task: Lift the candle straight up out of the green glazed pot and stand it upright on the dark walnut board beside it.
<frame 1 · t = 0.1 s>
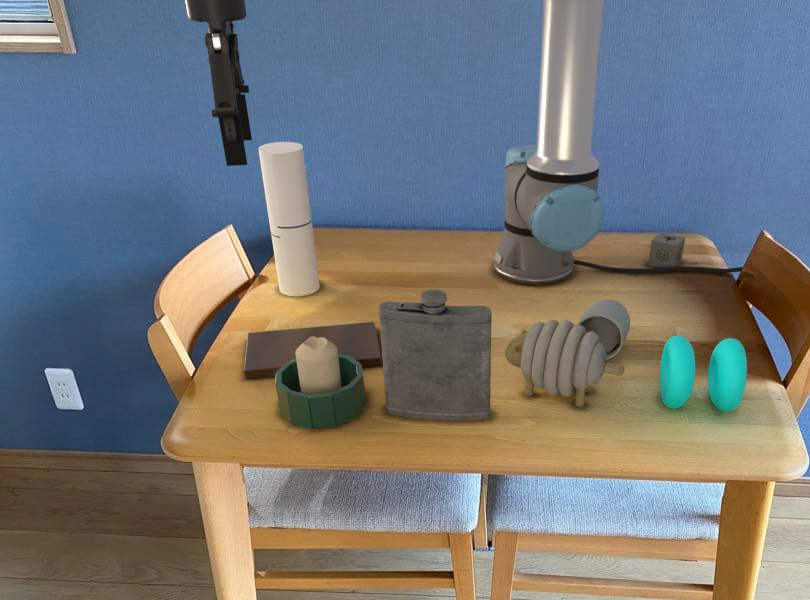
hand: (240, 152, 110), 28 cm above the table, tool pointing down, fingers open, 13 cm apart
toy sheep: (559, 396, 107), on the table
flask: (437, 414, 103), on the table
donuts: (695, 405, 106), on the table
candle pot: (323, 404, 105), on the table
grey engraved cube: (664, 264, 148), on the table
ceramic mug: (592, 349, 119), on the table
cylindrical container: (299, 288, 137), on the table
candle: (323, 405, 105), resting in candle pot
walnut board: (313, 353, 117), on the table
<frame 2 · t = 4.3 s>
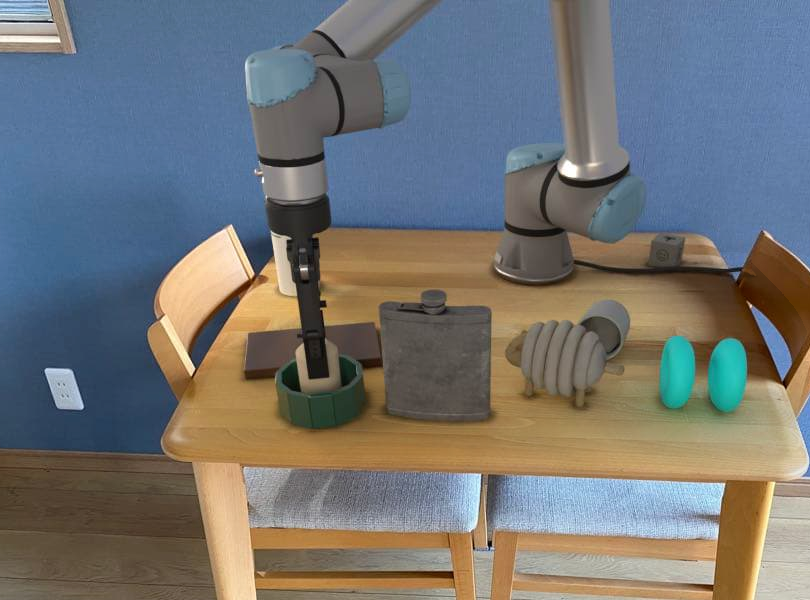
hand: (318, 365, 102), 6 cm above the table, tool pointing down, fingers closed on candle, 5 cm apart
candle: (323, 405, 105), resting in candle pot, touching gripper
everything else where it was.
when the fingers open (8 cm above the table, at t = 12.0 s): candle stays where it is, resting on walnut board.
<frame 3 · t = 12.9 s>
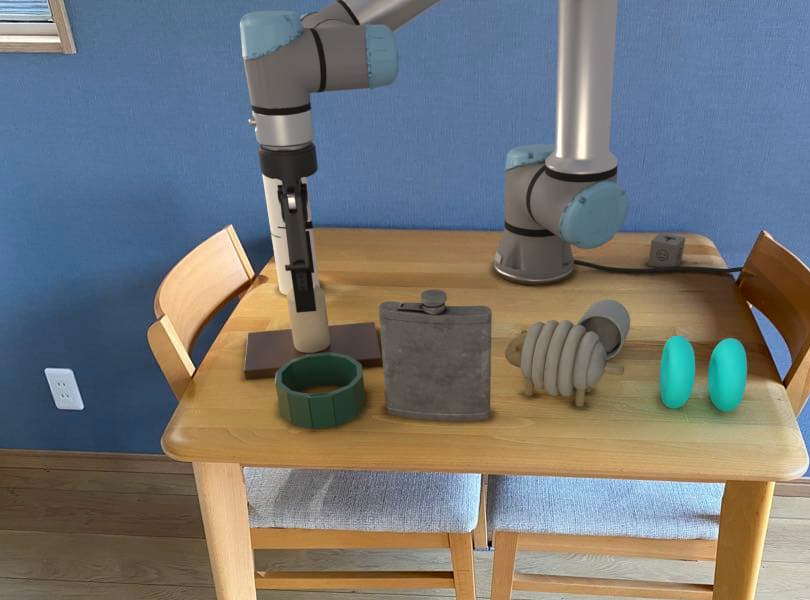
hand: (305, 290, 111), 11 cm above the table, tool pointing down, fingers open, 13 cm apart
candle: (312, 345, 116), point 1 cm above the table, touching walnut board
everything else where it was.
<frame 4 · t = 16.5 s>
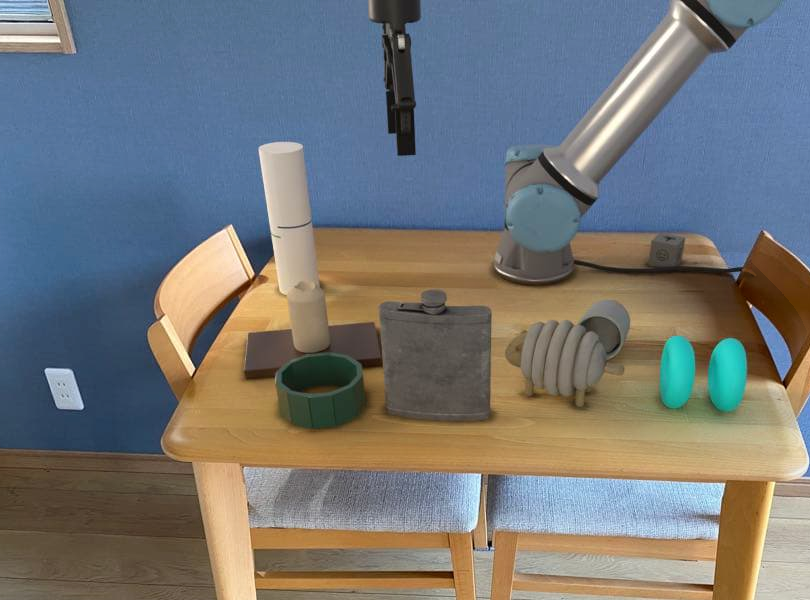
hand: (401, 143, 119), 27 cm above the table, tool pointing down, fingers open, 13 cm apart
nothing on the table moved.
at the end: candle inside the target area on the walnut board (0.0 cm from its centre), point 1.3 cm above the walnut board's base; candle tilted 0°; the gripper is holding nothing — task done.
